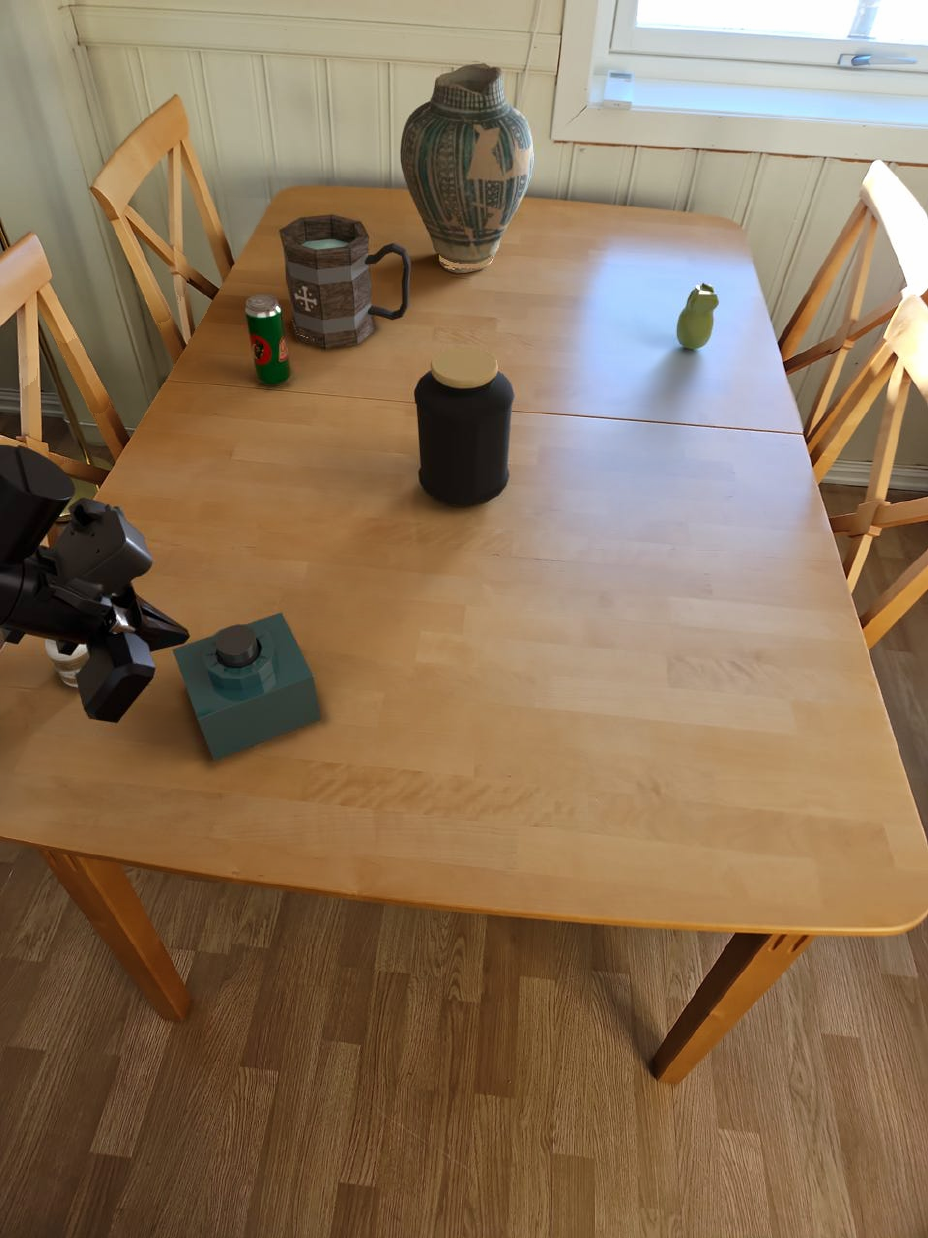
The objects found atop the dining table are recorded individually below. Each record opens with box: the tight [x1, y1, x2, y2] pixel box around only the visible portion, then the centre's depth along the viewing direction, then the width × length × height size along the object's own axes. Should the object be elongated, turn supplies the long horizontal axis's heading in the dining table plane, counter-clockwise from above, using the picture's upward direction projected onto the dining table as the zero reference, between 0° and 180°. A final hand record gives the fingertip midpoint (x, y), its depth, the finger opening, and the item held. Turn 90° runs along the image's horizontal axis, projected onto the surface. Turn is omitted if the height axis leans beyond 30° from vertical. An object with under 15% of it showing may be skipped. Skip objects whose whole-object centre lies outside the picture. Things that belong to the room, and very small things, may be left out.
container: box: [413, 345, 515, 508], centre depth 100 cm, size 12×12×18 cm
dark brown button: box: [216, 624, 259, 668], centre depth 76 cm, size 4×4×2 cm
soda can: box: [244, 294, 292, 387], centre depth 118 cm, size 5×5×12 cm
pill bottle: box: [44, 639, 89, 688], centre depth 83 cm, size 4×4×8 cm
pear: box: [675, 282, 720, 350], centre depth 128 cm, size 6×5×10 cm
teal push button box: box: [172, 611, 322, 762], centre depth 80 cm, size 11×9×9 cm
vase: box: [399, 62, 535, 274], centre depth 138 cm, size 22×22×30 cm
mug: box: [278, 213, 412, 350], centre depth 127 cm, size 20×14×15 cm
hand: (186, 637), depth 72 cm, fingers closed
